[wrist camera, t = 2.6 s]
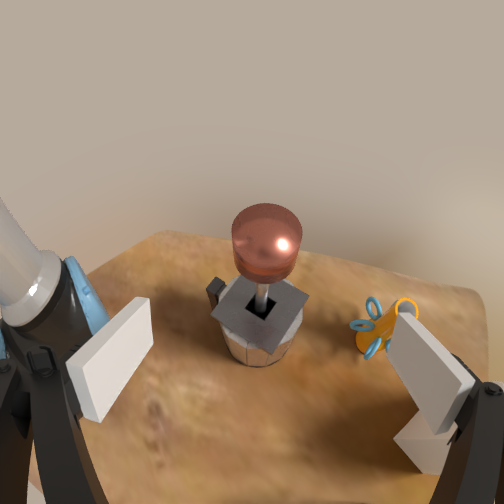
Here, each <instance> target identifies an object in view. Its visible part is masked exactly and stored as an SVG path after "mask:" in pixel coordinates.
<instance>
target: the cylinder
mask: <svg viewBox="0 0 504 504" xmlns="http://www.w3.org/2000/svg"><path fill="white" fill-rule="evenodd" d="M371 301H372V302H373V303H374V304H375V306H376V308H377V316H375V315H374V314H373V312H372V310H371V307H370V302H371ZM366 309H367V312H368V314H369V316H370V317H371V318H372V319H370V320H363V319H359V320H354V321H352V322H351V323H350V328H351V329H353V330H356V331H357V333H356V345H357V347H358V349H359V350H360V351H361V352H363V353H364V359H365V360H368V359H370V358H371V357H372V356H373V355H374V354H377V353H379V352H380V351H382V350H384V349H385V348H386V352H388V349H389V345H390V342H391V338H392V334H393V330H394V327H395V323H396V319H397V315H398V313H411V314H412V315H413V316H414V317H415V318H416V319H417V318H418V314H419V312H418V307H417V305H416V303H415V302H414V301H413V300H411V299H409V298H401V299H399V300H397V301H395V302H394V304H393V305H392V306H391V308H390V309H389V310H388V311H386V312H385V313H384V314H383V315H382V309H381V306H380V303H379V302H378V300H377V299H376V298H374V297H369V298H368V299H367V300H366ZM357 324H364V325H363V326H362V327H358V326H355V325H357Z"/></svg>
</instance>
